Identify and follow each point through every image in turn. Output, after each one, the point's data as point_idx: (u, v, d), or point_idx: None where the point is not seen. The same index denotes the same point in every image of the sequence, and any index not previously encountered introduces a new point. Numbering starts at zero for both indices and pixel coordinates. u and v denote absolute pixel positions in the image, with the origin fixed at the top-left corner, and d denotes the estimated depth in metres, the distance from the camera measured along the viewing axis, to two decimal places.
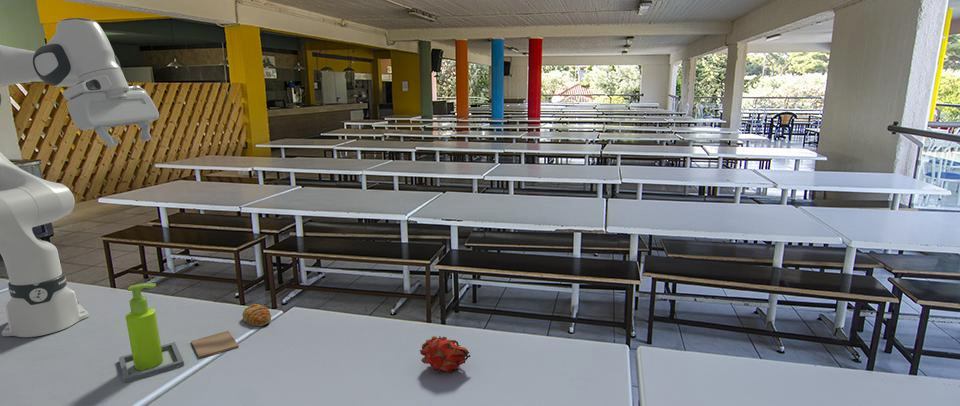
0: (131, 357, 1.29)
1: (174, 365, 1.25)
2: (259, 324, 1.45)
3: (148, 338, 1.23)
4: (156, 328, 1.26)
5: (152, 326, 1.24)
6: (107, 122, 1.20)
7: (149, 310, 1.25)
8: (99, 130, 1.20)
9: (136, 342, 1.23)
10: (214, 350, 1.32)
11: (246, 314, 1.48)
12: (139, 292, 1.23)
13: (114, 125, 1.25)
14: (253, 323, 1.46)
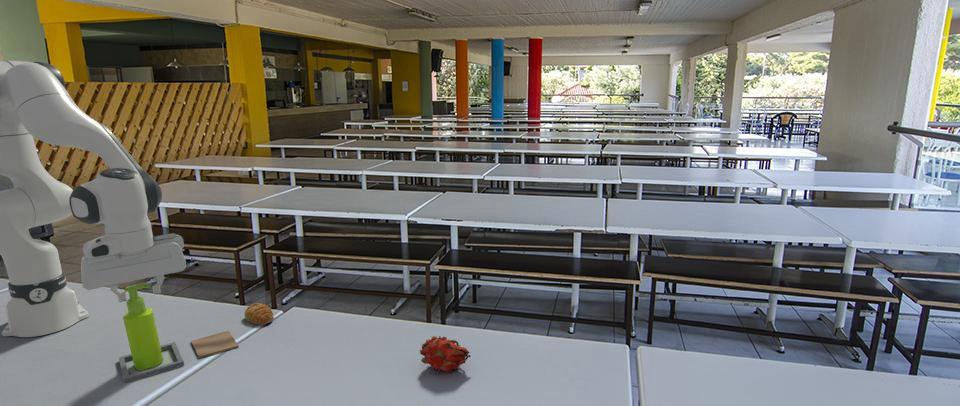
0: (131, 357, 1.29)
1: (174, 365, 1.25)
2: (262, 323, 1.46)
3: (146, 338, 1.23)
4: (154, 328, 1.25)
5: (151, 326, 1.24)
6: (110, 284, 1.18)
7: (147, 310, 1.25)
8: (110, 287, 1.19)
9: (135, 342, 1.22)
10: (214, 350, 1.32)
11: (248, 313, 1.48)
12: (136, 292, 1.22)
13: None
14: (256, 321, 1.46)
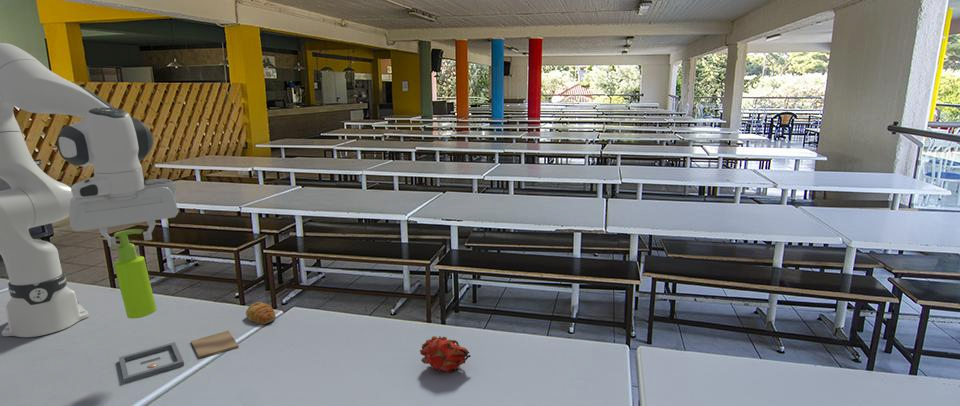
0: (131, 357, 1.29)
1: (174, 365, 1.25)
2: (264, 322, 1.47)
3: (138, 285, 1.20)
4: (146, 275, 1.22)
5: (142, 273, 1.21)
6: (99, 226, 1.15)
7: (138, 257, 1.21)
8: (99, 230, 1.16)
9: (126, 289, 1.19)
10: (214, 350, 1.32)
11: (250, 312, 1.49)
12: (126, 238, 1.19)
13: None
14: (258, 320, 1.47)
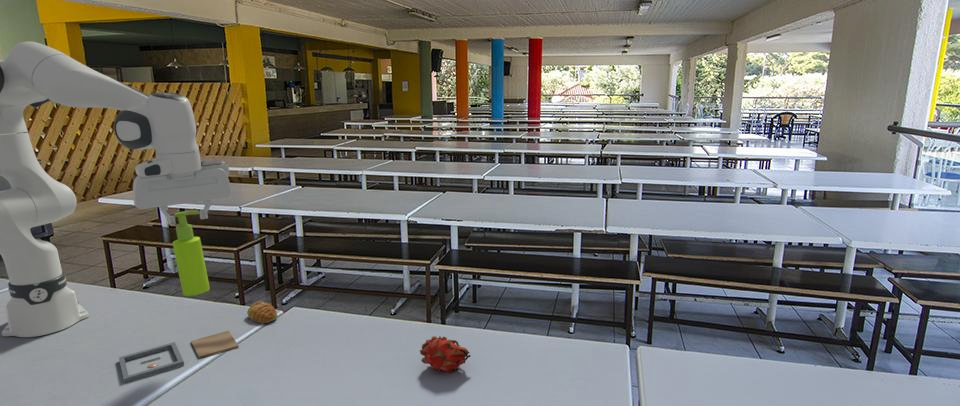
0: (131, 357, 1.29)
1: (174, 365, 1.25)
2: (266, 321, 1.47)
3: (195, 263, 1.26)
4: (202, 255, 1.28)
5: (199, 253, 1.27)
6: (161, 205, 1.21)
7: (194, 237, 1.28)
8: (160, 209, 1.22)
9: (184, 267, 1.25)
10: (214, 350, 1.32)
11: (252, 312, 1.49)
12: (184, 218, 1.25)
13: None
14: (260, 319, 1.47)
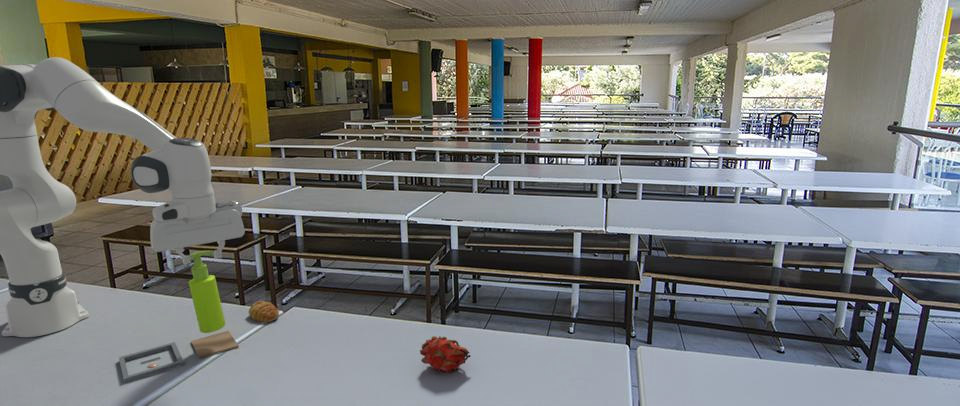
0: (131, 357, 1.29)
1: (174, 365, 1.25)
2: (268, 320, 1.48)
3: (211, 302, 1.30)
4: (217, 293, 1.32)
5: (214, 291, 1.31)
6: (177, 247, 1.25)
7: (209, 276, 1.32)
8: (176, 250, 1.26)
9: (200, 306, 1.30)
10: (214, 350, 1.32)
11: (253, 311, 1.50)
12: (199, 259, 1.29)
13: None
14: (262, 319, 1.48)
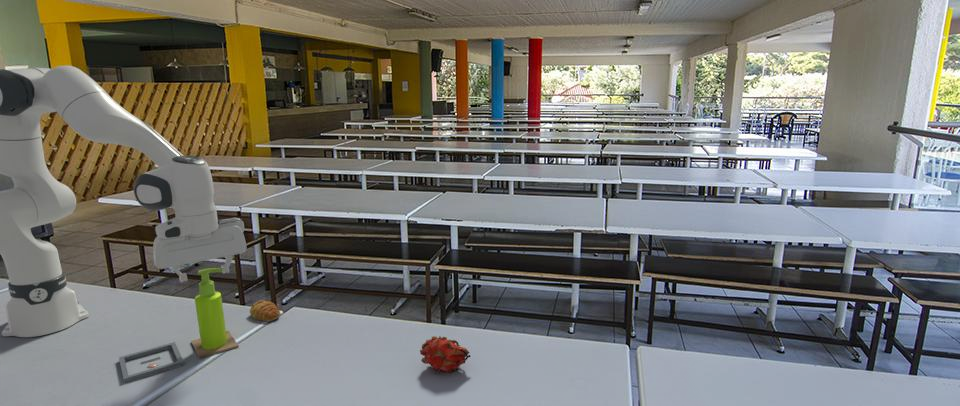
0: (131, 357, 1.29)
1: (174, 365, 1.25)
2: (270, 319, 1.48)
3: (215, 319, 1.32)
4: (222, 310, 1.34)
5: (219, 308, 1.32)
6: (180, 263, 1.26)
7: (216, 293, 1.33)
8: (173, 268, 1.26)
9: (205, 323, 1.31)
10: (214, 350, 1.32)
11: (255, 310, 1.50)
12: (207, 276, 1.31)
13: None
14: (264, 318, 1.48)
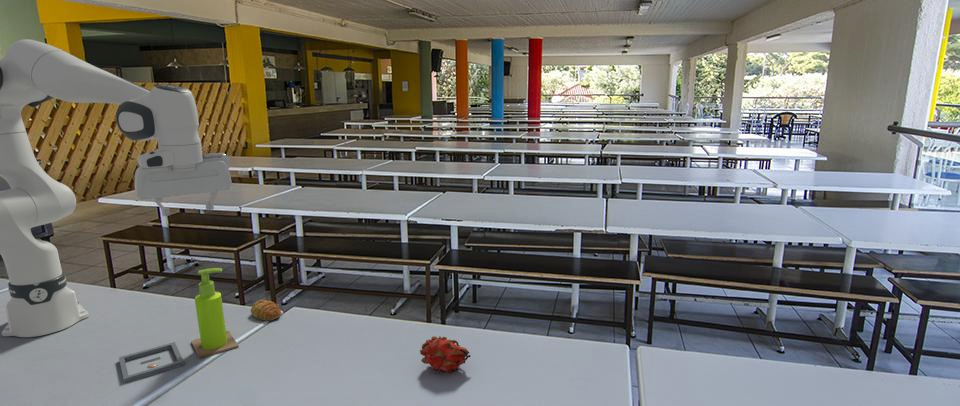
0: (131, 357, 1.29)
1: (174, 365, 1.25)
2: (271, 318, 1.49)
3: (215, 319, 1.32)
4: (222, 310, 1.34)
5: (219, 309, 1.32)
6: (162, 196, 1.22)
7: (216, 293, 1.33)
8: (155, 200, 1.23)
9: (205, 323, 1.31)
10: (214, 350, 1.32)
11: (256, 310, 1.50)
12: (207, 276, 1.31)
13: None
14: (265, 317, 1.49)
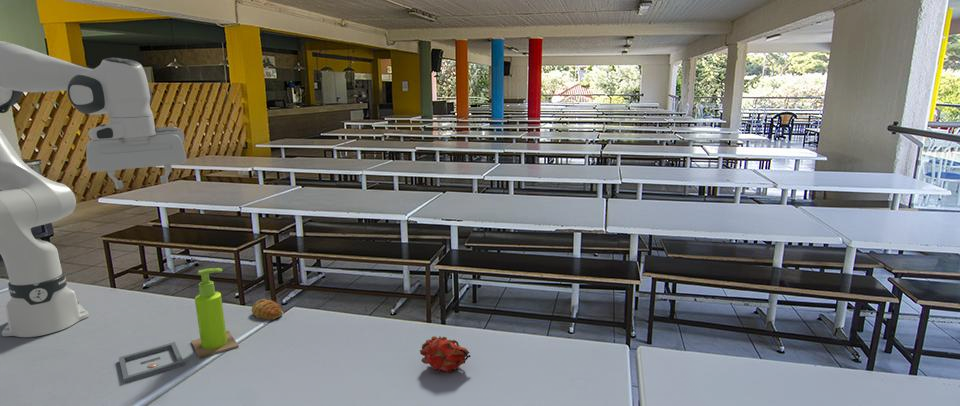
0: (131, 357, 1.29)
1: (174, 365, 1.25)
2: (272, 317, 1.49)
3: (215, 319, 1.32)
4: (222, 310, 1.34)
5: (219, 309, 1.32)
6: (114, 168, 1.23)
7: (216, 293, 1.33)
8: (107, 173, 1.24)
9: (205, 323, 1.31)
10: (214, 350, 1.32)
11: (257, 309, 1.51)
12: (207, 276, 1.31)
13: None
14: (266, 316, 1.49)
